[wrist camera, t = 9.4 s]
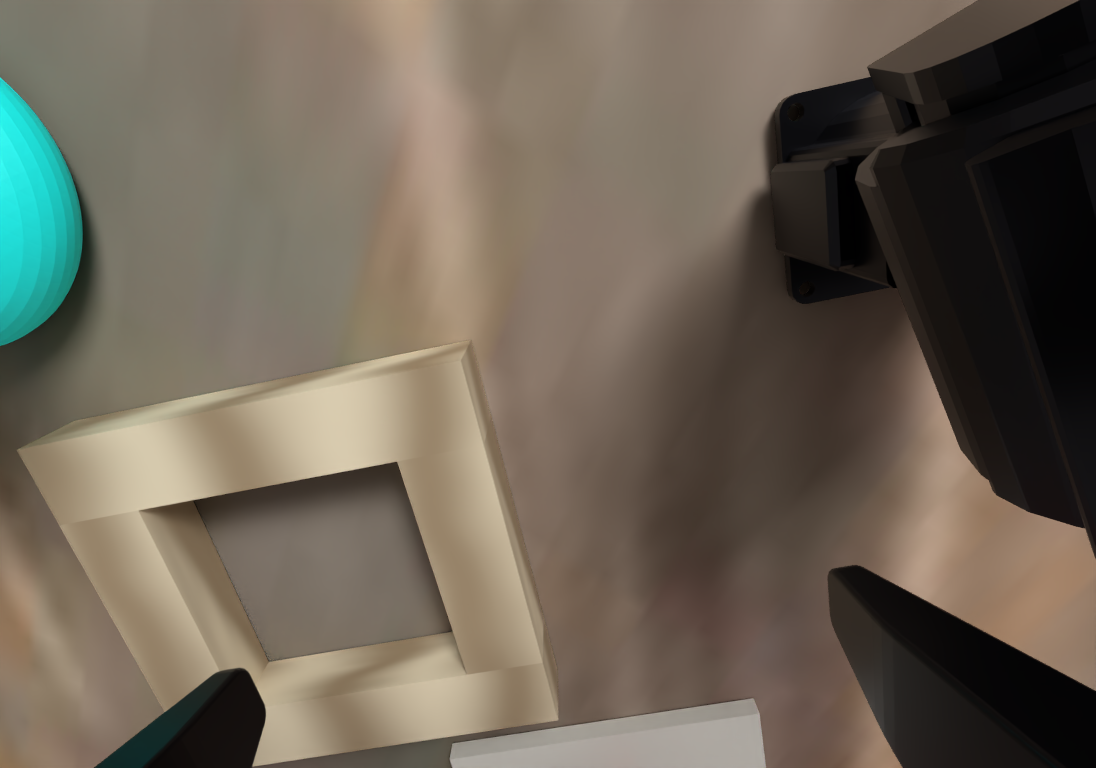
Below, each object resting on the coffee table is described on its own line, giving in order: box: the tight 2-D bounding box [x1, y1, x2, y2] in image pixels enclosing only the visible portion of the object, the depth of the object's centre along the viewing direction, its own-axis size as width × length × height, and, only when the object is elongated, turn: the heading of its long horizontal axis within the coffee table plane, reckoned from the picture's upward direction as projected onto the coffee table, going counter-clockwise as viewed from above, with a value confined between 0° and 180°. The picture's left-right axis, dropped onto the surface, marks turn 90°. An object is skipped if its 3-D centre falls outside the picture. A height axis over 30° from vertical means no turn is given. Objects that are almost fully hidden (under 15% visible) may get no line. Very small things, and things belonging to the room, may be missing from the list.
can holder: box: [17, 340, 558, 767], centre depth 23 cm, size 15×15×2 cm
